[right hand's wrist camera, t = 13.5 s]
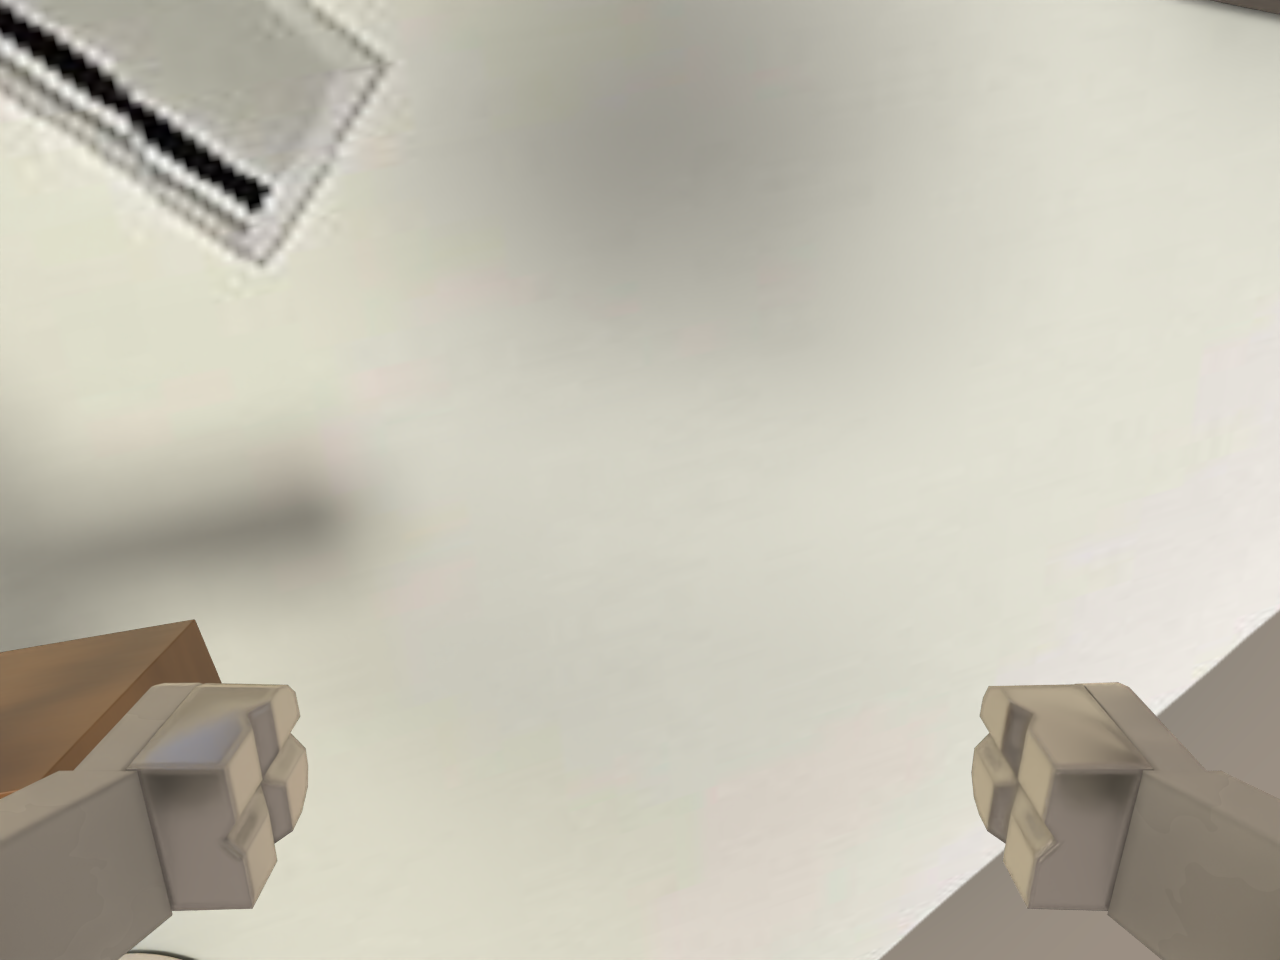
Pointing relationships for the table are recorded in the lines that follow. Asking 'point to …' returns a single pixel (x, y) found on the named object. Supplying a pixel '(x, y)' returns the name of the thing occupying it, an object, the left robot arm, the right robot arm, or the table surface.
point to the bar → (85, 693)
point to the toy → (1256, 4)
